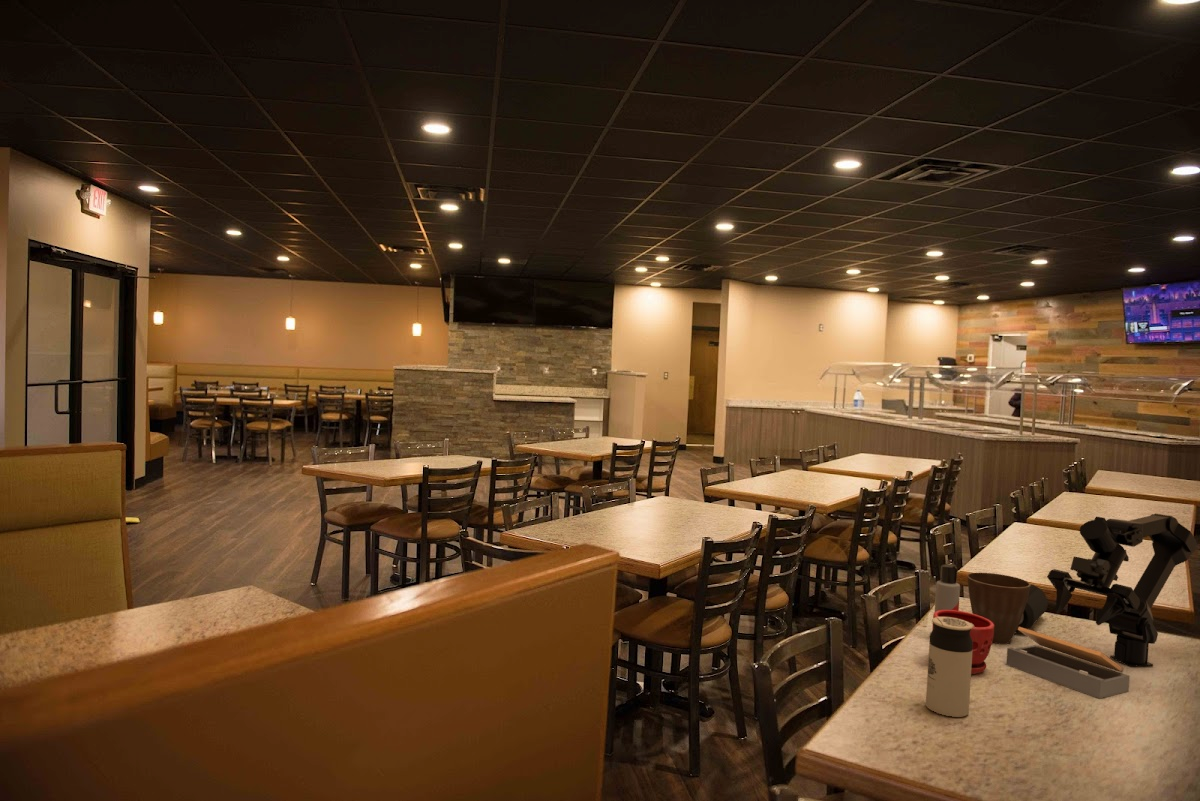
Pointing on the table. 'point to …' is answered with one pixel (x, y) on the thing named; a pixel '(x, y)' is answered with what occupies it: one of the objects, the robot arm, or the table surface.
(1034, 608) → the portable speaker
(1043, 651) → the grey rectangular tray
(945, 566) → the lotion bottle
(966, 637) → the travel mug
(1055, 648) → the cover
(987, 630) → the plant pot
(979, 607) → the plant pot
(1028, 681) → the table surface
